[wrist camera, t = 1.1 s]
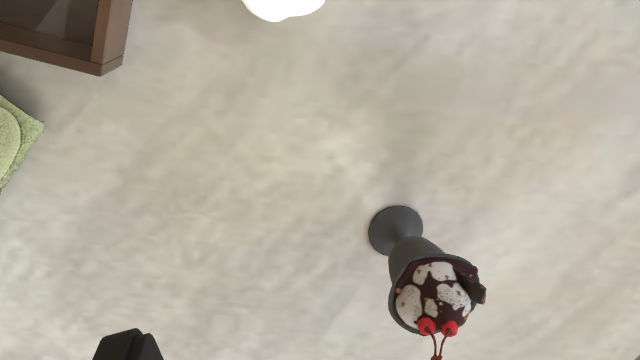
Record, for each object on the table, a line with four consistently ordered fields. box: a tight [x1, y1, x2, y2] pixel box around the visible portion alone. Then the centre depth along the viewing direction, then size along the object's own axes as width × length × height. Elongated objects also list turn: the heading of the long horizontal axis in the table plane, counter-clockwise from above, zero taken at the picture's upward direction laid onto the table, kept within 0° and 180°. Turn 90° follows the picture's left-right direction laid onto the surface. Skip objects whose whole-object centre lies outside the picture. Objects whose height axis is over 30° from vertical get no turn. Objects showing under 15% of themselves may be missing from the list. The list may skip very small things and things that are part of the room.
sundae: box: [369, 206, 486, 360], centre depth 37 cm, size 7×7×15 cm
